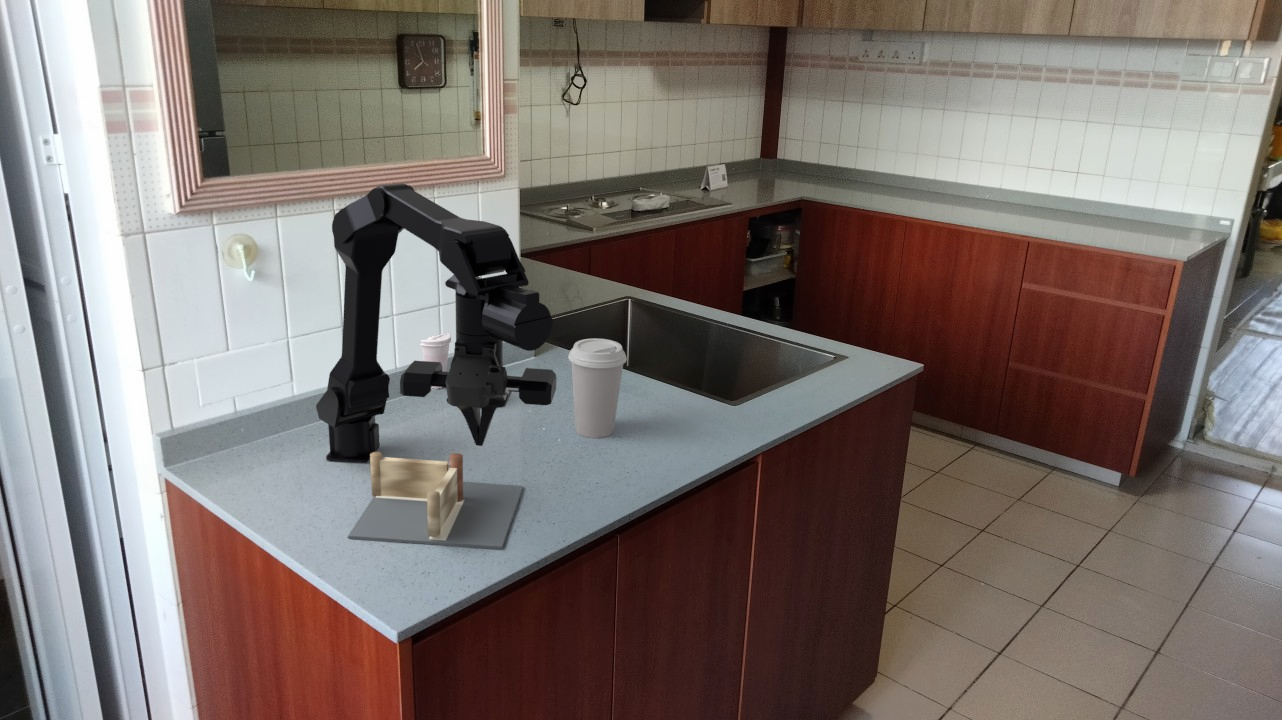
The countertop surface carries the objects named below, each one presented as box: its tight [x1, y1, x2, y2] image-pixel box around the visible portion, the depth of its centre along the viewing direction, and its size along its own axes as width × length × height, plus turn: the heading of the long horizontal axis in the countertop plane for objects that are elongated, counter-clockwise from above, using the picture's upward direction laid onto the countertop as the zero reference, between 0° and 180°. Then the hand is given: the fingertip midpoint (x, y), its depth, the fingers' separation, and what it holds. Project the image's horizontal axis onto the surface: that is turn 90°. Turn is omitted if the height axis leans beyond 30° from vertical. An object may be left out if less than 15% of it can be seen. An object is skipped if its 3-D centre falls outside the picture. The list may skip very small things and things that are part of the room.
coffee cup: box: [568, 338, 628, 439], centre depth 155 cm, size 10×10×15 cm
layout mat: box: [347, 481, 524, 550], centre depth 129 cm, size 20×17×1 cm
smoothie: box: [420, 332, 452, 390], centre depth 170 cm, size 6×6×14 cm
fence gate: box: [427, 467, 458, 537], centre depth 124 cm, size 10×2×6 cm, turn 175°
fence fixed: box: [369, 451, 464, 502], centre depth 130 cm, size 13×2×7 cm, turn 88°
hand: (479, 444), depth 120 cm, fingers closed
